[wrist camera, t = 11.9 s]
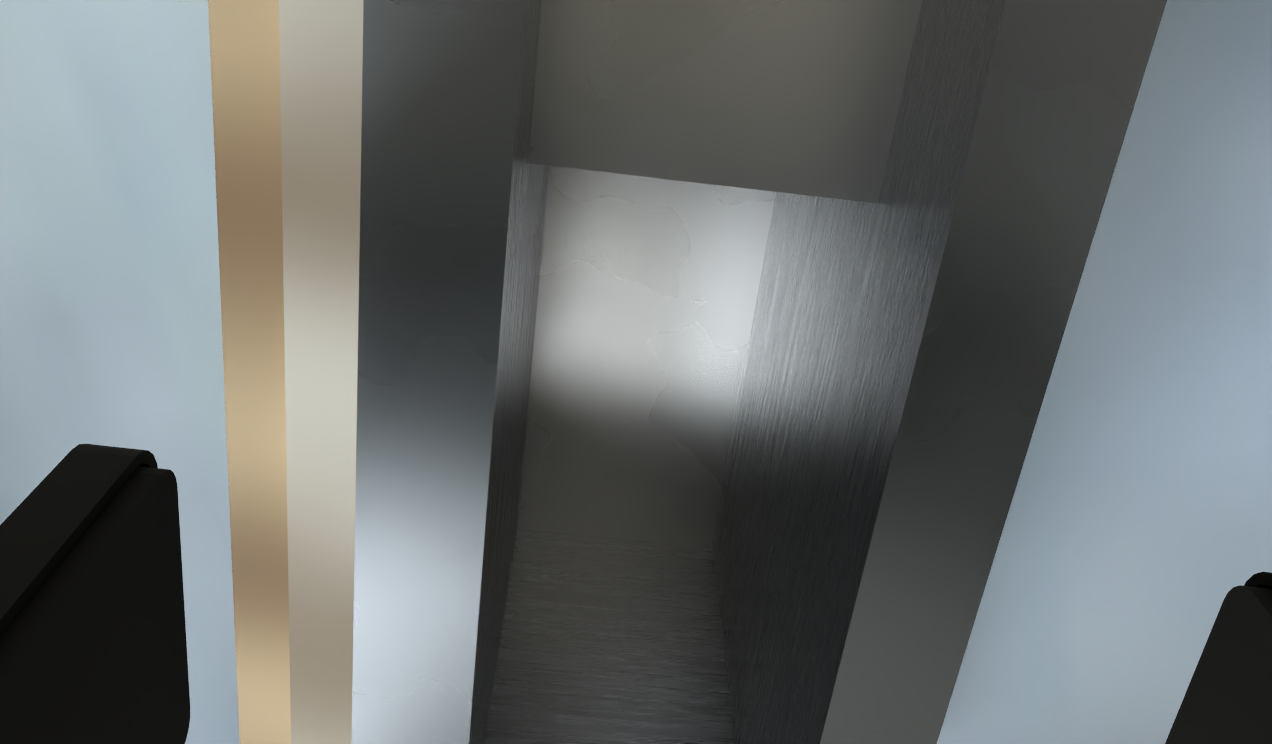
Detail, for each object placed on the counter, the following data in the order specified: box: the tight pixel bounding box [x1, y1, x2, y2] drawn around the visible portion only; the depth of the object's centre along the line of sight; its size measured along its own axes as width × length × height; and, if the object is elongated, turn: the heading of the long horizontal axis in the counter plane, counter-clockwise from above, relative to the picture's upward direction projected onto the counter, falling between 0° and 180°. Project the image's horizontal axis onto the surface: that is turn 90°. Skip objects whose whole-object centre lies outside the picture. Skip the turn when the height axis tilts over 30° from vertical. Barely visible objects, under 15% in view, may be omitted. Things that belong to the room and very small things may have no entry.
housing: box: [352, 0, 1167, 744], centre depth 13 cm, size 5×14×8 cm, turn 173°
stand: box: [208, 0, 364, 744], centre depth 18 cm, size 24×12×3 cm, turn 173°
